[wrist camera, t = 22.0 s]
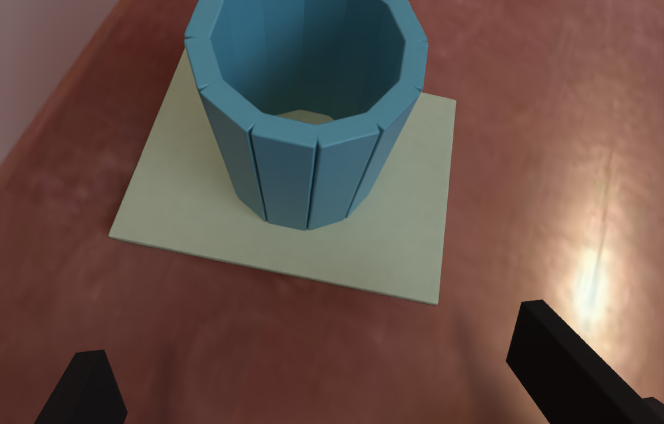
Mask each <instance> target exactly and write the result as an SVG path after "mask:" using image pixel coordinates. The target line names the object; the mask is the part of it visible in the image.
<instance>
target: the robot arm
mask: <svg viewBox="0 0 664 424" xmlns="http://www.w3.org/2000/svg"><path fill="white" fill-rule="evenodd" d="M506 362H507V364H508V365H509V367H510V368H511V369H512V371H513V372H514V374H515V375H516V377H517V378H518V379H519V381H520V382H521V384H522V385H523V386H524V388H525V389H526V391H527V392H528V393H529V395H530V396H531V398H532V399H533V400H534V402H535V403H536V405H537V406H538V408H539V409H540V410H541V412H542V413H543V415H544V416H545V417H546V419H547V420H548V422H549V423H550V424H664V404H663V403H661V402H660V401H658V400H657V399H655V398H654V397H649V398H643V399H642V398H641V397H640V396H639V395H638V394H637V393H636V392H635V391H634V390H633V389H632V388H631V387H630V386H629V385H628V384H627V383H626V382H625V381H624V380H623V379H622V378H621V377H620V376H619V375H618V374H617V373H616V372H615V371H614V370H613V369H612V368H611V367H610V366H609V365H608V364H607V363H606V362H605V361H604V360H603V359H602V358H601V357H600V356H599V355H598V354H597V353H596V352H595V351H594V350H593V349H592V348H591V347H590V346H589V345H588V344H587V343H586V342H585V341H584V340H583V339H582V338H581V337H580V336H579V335H578V334H577V333H576V332H575V331H574V330H573V329H572V328H571V327H570V326H569V325H568V324H567V323H566V322H565V321H564V320H563V319H562V318H561V317H560V316H559V315H558V314H557V313H556V312H555V311H554V310H553V309H552V308H550V307H549V306H548V305H547V304H546V303H545V302H544V301H543V300H534V301H525V302H521V306H520V310H519V314H518V317H517V321H516V325H515V329H514V332H513V336H512V340H511V344H510V347H509V351H508V355H507V359H506ZM127 413H128V412H127V410H126V407H125V404H124V402H123V399H122V396H121V394H120V391H119V388H118V385H117V383H116V380H115V377H114V375H113V372H112V369H111V367H110V364H109V361H108V359H107V356H106V353H105V350H96V351H87V352H79V353H75V355H74V357H73V358H72V360H71V362H70V363H69V365H68V367H67V369H66V370H65V372H64V374H63V375H62V377H61V379H60V380H59V382H58V384H57V386H56V387H55V389H54V391H53V392H52V394H51V396H50V397H49V399H48V401H47V402H46V404H45V406H44V408H43V409H42V411H41V413H40V414H39V416H38V418H37V419H36V421H35V423H34V424H124V421H125V419H126V416H127Z"/></svg>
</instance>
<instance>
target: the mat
mask: <svg viewBox="0 0 664 424" xmlns="http://www.w3.org/2000/svg"><path fill="white" fill-rule="evenodd" d="M455 108H456V100H453V99H448V98H444V97H440V96H435V95H431V94H426V93H422V92H421V93H420V96H419V98H418V99H417V101H416V103H415V105H414V107H413V109H412V111H411V113H410V115H409V117H408V119H407V121H406V123H405V125H404V127H403V129H402V131H401V133H400V135H399V136H398V138H397V140H396V142H395V144H394V146H393V148H392V150H391V152H390V154H389V156H388V158H387V160H386V162H385V164H384V166H383V168H382V170H381V172H380V173H379V175H378V177H377V179H376V181H375V183H374V185H373V187H372V189H371V191H370V193H369V195H368V196H367V197H366V198H365V199H364V200H363V201H362V202H361V203H360V204H359V205H358V207H357V208H356V209H355V210H354V211H353V212H352V213H351V214H350V215H349V216H348V218H345V217H344V220H343V221H339V222H336V223H333V224H329V225H326V226H323V227H320V228H316V229H313V230H308V229H307V227H306V230H305V231H303V230H298V229H293V228H289V227H284V226H279V225H275V224H270V223H268V220H267V221H266V222H265V221H264V220H263V219H261V218H260V217H259V216H258V215H257V214H256V213H255V212H254V211H252V210H251V209H250V208H249V207H248V206H247V205H246V204H245V203H243V202H242V201H241V200H240V199H239V198H238V195H237V194H236V193H235V190H234V187H233V184H232V182H231V179H230V176H229V174H228V171H227V168H226V166H225V163H224V160H223V158H222V155H221V152H220V150H219V147H218V144H217V141H216V139H215V136H214V133H213V131H212V128H211V125H210V123H209V120H208V117H207V115H206V112H205V109H204V107H203V104H202V101H201V98H200V96H199V93H198V90H197V88H196V84H195V80H194V77H193V73H192V70H191V66H190V63H189V59H188V55H187V52H186V48H185V49H184V52H183V54H182V56H181V59H180V61H179V64H178V66H177V69H176V71H175V73H174V76H173V78H172V81H171V83H170V86H169V88H168V91H167V93H166V95H165V98H164V100H163V103H162V105H161V108H160V110H159V113H158V115H157V117H156V120H155V122H154V125H153V127H152V130H151V132H150V135H149V137H148V139H147V142H146V144H145V147H144V149H143V152H142V154H141V157H140V159H139V161H138V164H137V166H136V169H135V171H134V174H133V176H132V179H131V181H130V183H129V186H128V188H127V191H126V193H125V196H124V198H123V201H122V203H121V205H120V208H119V210H118V213H117V215H116V218H115V220H114V223H113V225H112V227H111V230H110V232H109V235H108V236H109V237H110V238H112V239H114V240H119V241H124V242H129V243H134V244H138V245H143V246H148V247H153V248H158V249H163V250H167V251H172V252H177V253H182V254H187V255H192V256H197V257H201V258H206V259H211V260H216V261H221V262H226V263H230V264H235V265H240V266H245V267H250V268H255V269H260V270H264V271H269V272H274V273H279V274H284V275H289V276H293V277H298V278H303V279H308V280H313V281H318V282H323V283H327V284H332V285H337V286H342V287H347V288H352V289H357V290H361V291H366V292H371V293H376V294H381V295H386V296H390V297H395V298H400V299H405V300H410V301H415V302H420V303H424V304H429V305H436V304H438V298H439V287H440V275H441V264H442V253H443V242H444V231H445V220H446V208H447V197H448V186H449V175H450V164H451V152H452V141H453V130H454V119H455ZM274 116H279V117H284V118H288V119H293V120H297V121H302V122H306V123H311V124H315V125H318V124H322V123H326V122H330V121H334V119H332V118H331V117H330V116H328V115H323V114H319V113H314V112H310V111H305V110H301V109H300V110H295V111H291V112H287V113H283V114H278V115H274Z"/></svg>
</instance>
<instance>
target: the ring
mask: <svg viewBox="0 0 664 424" xmlns="http://www.w3.org/2000/svg"><path fill="white" fill-rule="evenodd" d="M184 36H185V40H184V45H185V48H186V52H187V55H188V59H189V63H190V66H191V70H192V73H193V77H194V80H195V84H196V88H197V90H198V93H199V96H200V98H201V101H202V104H203V107H204V109H205V112H206V115H207V117H208V120H209V123H210V125H211V128H212V131H213V133H214V136H215V139H216V141H217V144H218V147H219V150H220V152H221V155H222V158H223V160H224V163H225V166H226V168H227V171H228V174H229V176H230V179H231V182H232V184H233V187H234V190H235V193H236V194H237V195H238V198H239V199H240V200H241V201H242V202H243V203H245V204H246V205H247V206H248V207H249V208H250V209H251V210H252V211H254V212H255V213H256V214H257V215H258V216H259V217H260V218H261V219H263V220H264V221H265V222H266V221H267V220H268V223H270V224H275V225H279V226H284V227H289V228H293V229H298V230H303V231H305V230H306V227H307V229H308V230H313V229H316V228H320V227H323V226H326V225H329V224H333V223H336V222H339V221H343V220H344V217H345V218H348V216H349V215H350V214H351V213H352V212H353V211H354V210H355V209H356V208H357V207H358V205H359V204H360V203H361V202H362V201H363V200H364V199H365V198H366V197H367V196H368V195H369V193H370V191H371V189H372V187H373V185H374V183H375V181H376V179H377V177H378V175H379V173H380V172H381V170H382V168H383V166H384V164H385V162H386V160H387V158H388V156H389V154H390V152H391V150H392V148H393V146H394V144H395V142H396V140H397V138H398V136H399V135H400V133H401V131H402V129H403V127H404V125H405V123H406V121H407V119H408V117H409V115H410V113H411V111H412V109H413V107H414V105H415V103H416V101H417V99H418V98H419V96H420V93H421V91H422V89H423V84H424V76H425V68H426V60H427V53H428V43H426V42H427V37H426V35H425V33H424V31H423V29H422V27H421V25H420V23H419V21H418V19H417V17H416V15H415V14H414V12H413V10H412V8H411V6H410V4H409V2H408V0H198V3H197V5H196V7H195V10H194V12H193V14H192V17H191V19H190V22H189V24H188V26H187V29H186V31H185V34H184ZM300 109H301V110H305V111H310V112H314V113H319V114H323V115H328V116H330V117H331V118H332V119H334V121H330V122H326V123H322V124H318V125H315V124H311V123H306V122H302V121H297V120H293V119H288V118H284V117H279V116H274V115H278V114H283V113H287V112H291V111H295V110H300Z"/></svg>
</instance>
